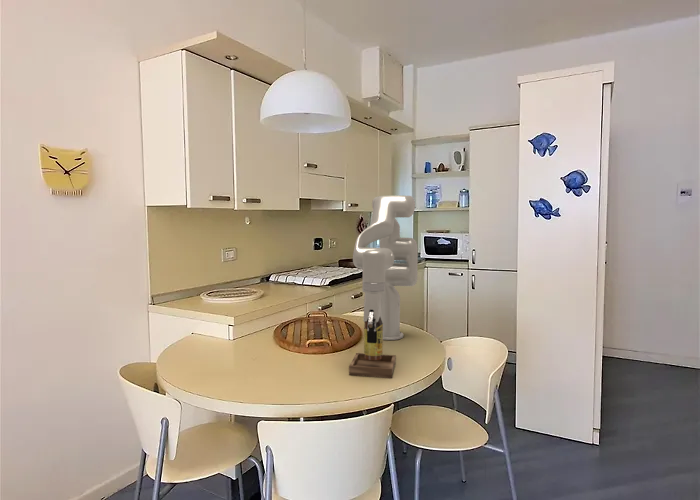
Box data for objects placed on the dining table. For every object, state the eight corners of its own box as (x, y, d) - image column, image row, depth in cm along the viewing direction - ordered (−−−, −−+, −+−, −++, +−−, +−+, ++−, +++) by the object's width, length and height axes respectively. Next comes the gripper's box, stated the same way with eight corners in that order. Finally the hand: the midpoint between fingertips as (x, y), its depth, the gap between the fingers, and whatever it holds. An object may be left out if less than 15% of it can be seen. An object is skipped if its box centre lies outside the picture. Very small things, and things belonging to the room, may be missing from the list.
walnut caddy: (356, 361, 158) (356, 352, 158) (395, 363, 155) (395, 355, 155) (349, 375, 144) (349, 366, 144) (391, 378, 142) (392, 369, 141)
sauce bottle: (381, 362, 146) (381, 303, 144) (362, 361, 147) (362, 302, 145) (383, 356, 152) (384, 299, 150) (365, 354, 153) (365, 298, 152)
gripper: (366, 282, 157) (366, 332, 158) (358, 291, 140) (358, 346, 141) (387, 283, 155) (387, 333, 157) (381, 291, 138) (381, 348, 140)
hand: (373, 339), depth 149 cm, fingers closed on sauce bottle, 6 cm apart
